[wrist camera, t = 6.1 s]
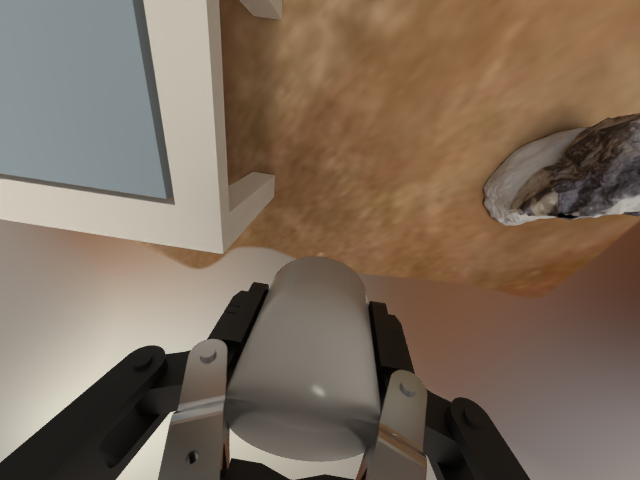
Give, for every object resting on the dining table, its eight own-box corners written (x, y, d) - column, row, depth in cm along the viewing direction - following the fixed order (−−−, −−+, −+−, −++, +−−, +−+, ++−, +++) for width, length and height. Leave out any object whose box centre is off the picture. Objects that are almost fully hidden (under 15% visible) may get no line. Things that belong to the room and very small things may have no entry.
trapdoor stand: (65, -49, 24) (-342, -295, 10) (283, -20, 24) (190, -233, 9) (121, 173, 34) (-40, 212, 20) (274, 196, 34) (223, 254, 19)
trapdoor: (-132, -109, 12) (-169, -127, 11) (133, -75, 12) (116, -90, 11) (-1, 168, 19) (-18, 170, 18) (175, 195, 18) (166, 198, 18)
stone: (493, 234, 35) (513, 258, 22) (468, 170, 35) (474, 157, 22) (633, 195, 28) (784, 197, 15) (601, 115, 28) (723, 49, 15)
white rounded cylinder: (272, 248, 12) (214, 357, 7) (377, 265, 12) (404, 388, 6) (269, 324, 14) (225, 447, 9) (356, 337, 14) (363, 471, 9)
